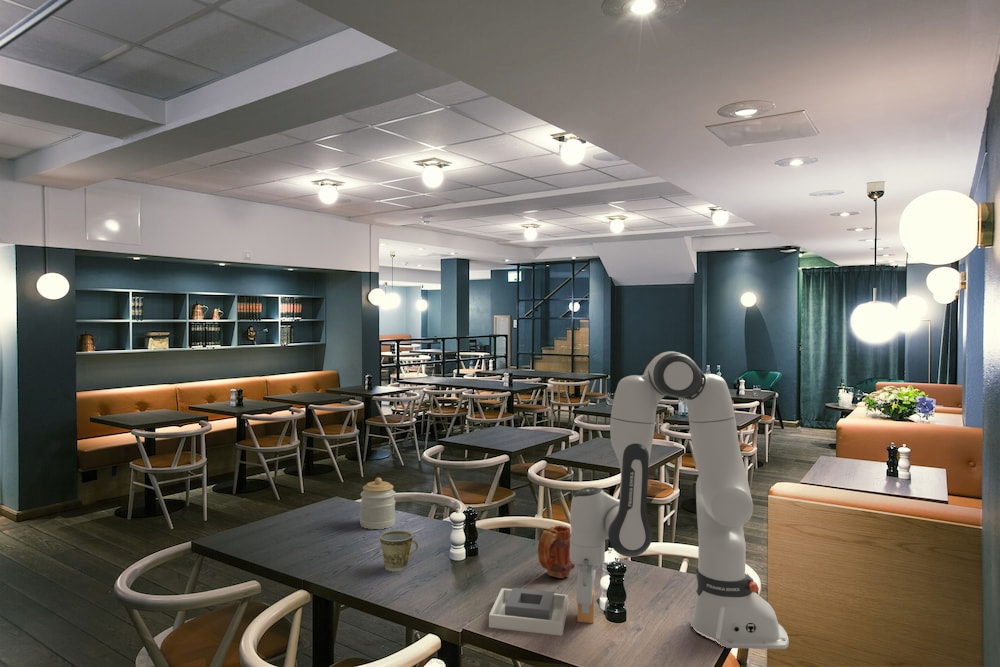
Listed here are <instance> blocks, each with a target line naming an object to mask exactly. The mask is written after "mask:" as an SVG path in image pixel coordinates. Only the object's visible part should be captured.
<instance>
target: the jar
mask: <svg viewBox="0 0 1000 667" xmlns="http://www.w3.org/2000/svg"><path fill="white" fill-rule="evenodd" d="M362 489H363V491H361V492H360V496H361V500H360V503H359V504H360V518H359V523H360V527H361V528H363V527H364V528H363V529H366V528H368V529H367V530H373V529H378V530H385V529H384V528H386V529H390V528H391V526H392V527H393V526H394V525H395V523H396V512H395V511H396V500H395V496H396V491H395V490H394V485H393V484H391V483H390V482H389V481H386V480H385V481H383V479H382V478H381V477H376V478H375V479H374V481H369V482H367V483H366V484H365V485H363V486H362Z"/></svg>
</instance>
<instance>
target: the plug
mask: <svg viewBox="0 0 1000 667" xmlns="http://www.w3.org/2000/svg"><path fill="white" fill-rule="evenodd" d="M595 590H596V588H594V589H593V598H592V604H591V605H589V613H583V612H582V605H581V604H578V603H577V616H576V617H577V620H576V621H577V622H580V623H586V624H587V623H588V624H594V622H595V596H596V595H595V593H596V591H595Z"/></svg>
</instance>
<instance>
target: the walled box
mask: <svg viewBox="0 0 1000 667" xmlns="http://www.w3.org/2000/svg"><path fill="white" fill-rule="evenodd" d="M512 589H513V588H505V587H504V588H503V587H502V588H500V591H499V593H498V596H497V597H496V600H495V601H494V604H493V606H492V607H491V610H490V612H489V614H488V628H493V629H500V630H501V629H502V630H509V631H516V632H517V631H519V632H527V633H536V634H545V635H552V636H553V635H554V636H561V637H562V636H563V635H564V631H565V630H564V629H565V625H566V621H567V619H566V618H567V614H568V609H569V594H564V593H563V594H562V593H554V611H553V615H552V619H551V620H545V619H536V618H527V617H517V616H508V615H505V605H506V603H507V600H508V598H509V596H510V593H511V591H512Z"/></svg>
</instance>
